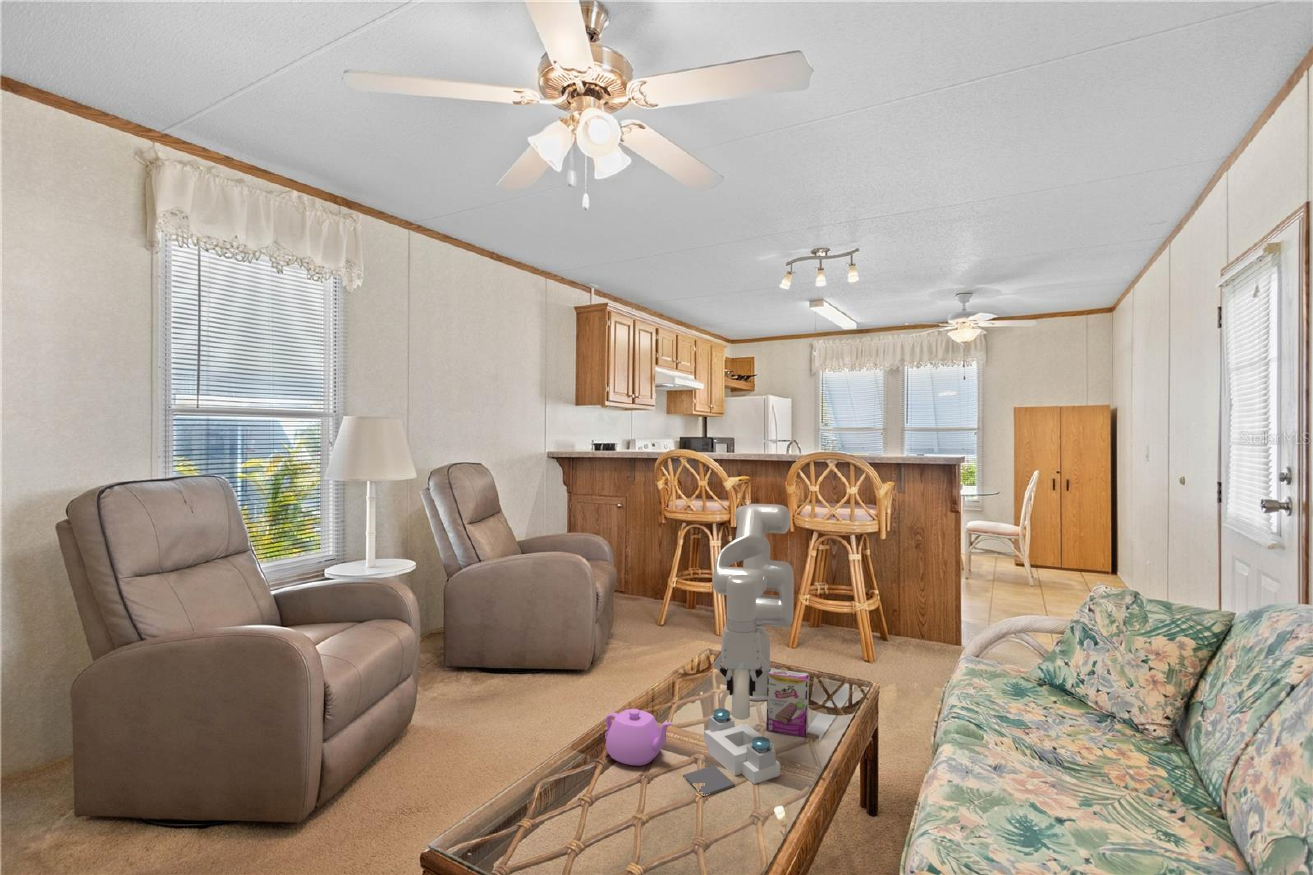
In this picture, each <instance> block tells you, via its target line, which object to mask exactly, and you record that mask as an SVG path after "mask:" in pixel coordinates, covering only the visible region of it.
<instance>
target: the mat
mask: <svg viewBox="0 0 1313 875" xmlns="http://www.w3.org/2000/svg"><path fill="white" fill-rule="evenodd" d="M683 776H684V777H685V778H686V780H687V781H688V782H690V783H691V784H693V783H697V784H698V783H705V786H701V789H699V792H703V793H702V794H703V795H704V794H705V795H706V794H709V793H710V794H711V795H714V794H716V793H720V792H722V791H726V790H729V789H731V788H734V787H736V783H735V782H734V781H732V780H731V779H730V778H729V777H728V776H727V775H726V774H725V773H723V772H722V771H721V770H720V769H719V768H717V766H715V765H713V764H712V765H710V766H707V767H705V768H704V767H703V768H700V769H696V770H695V771H694V770H693V771H690V772H687V773H685V774H683V775H682V777H683ZM686 780H685V781H686ZM687 781H686V782H687ZM688 782H687V783H688Z"/></svg>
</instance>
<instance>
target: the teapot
mask: <svg viewBox="0 0 1313 875" xmlns="http://www.w3.org/2000/svg"><path fill="white" fill-rule="evenodd" d="M611 718H614V719H613V721H612V722H611ZM605 724H606V730H607V731H605V733H604V737H605V741H606V743H605V748H606V752H607V753H608V755H609V756H610V758H612V759H613V760H614V761H616V762H619V763H621V764H623V765H624V764H625V765H628V766H629V765H630V766H637V767H638V766H640V767H641V766H645V765H647V764H649V763H650V762H652V761H653V760H654V759H655V758H656V757H657V755H659V753H660V751H661V749H662V748H663V747H664V746H665V744H666V742H667V731H668V727H669V726H670V725H673V722H672V721H666V722H663V723H662V724H661V725H660V726H659V725H658V722H657V720H656V719H655V717H654V715H653V714H651V713H650V712H648V711H644V710H639V709H638V708H630V709H629V708H628V709H625V710H622V711H621V712H619V713H618V712H610V713H608V715H607V716H606V717H605Z"/></svg>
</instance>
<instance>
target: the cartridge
mask: <svg viewBox="0 0 1313 875" xmlns="http://www.w3.org/2000/svg"><path fill="white" fill-rule="evenodd" d="M731 676H732V695H731V716H732V717H733V718H734V719H735V720H740V721H742V720H748V719H749V718H750V716H751V700H750V670H748V669H745V666H744V665H743V663H740V665H739V666H738V668H737V669H733V671H732V674H731Z"/></svg>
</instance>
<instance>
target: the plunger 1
mask: <svg viewBox="0 0 1313 875" xmlns="http://www.w3.org/2000/svg"><path fill="white" fill-rule="evenodd" d="M730 712H731V711H730V710H728V709H727V708H722V707H721V708H715V709H714V710H713V713H712V714H713V715H712V716H714V717H715V718H716V721H718V722H719V723H723V722H726V721H727V719H728V718H729V717H730V718H731V713H730Z"/></svg>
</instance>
